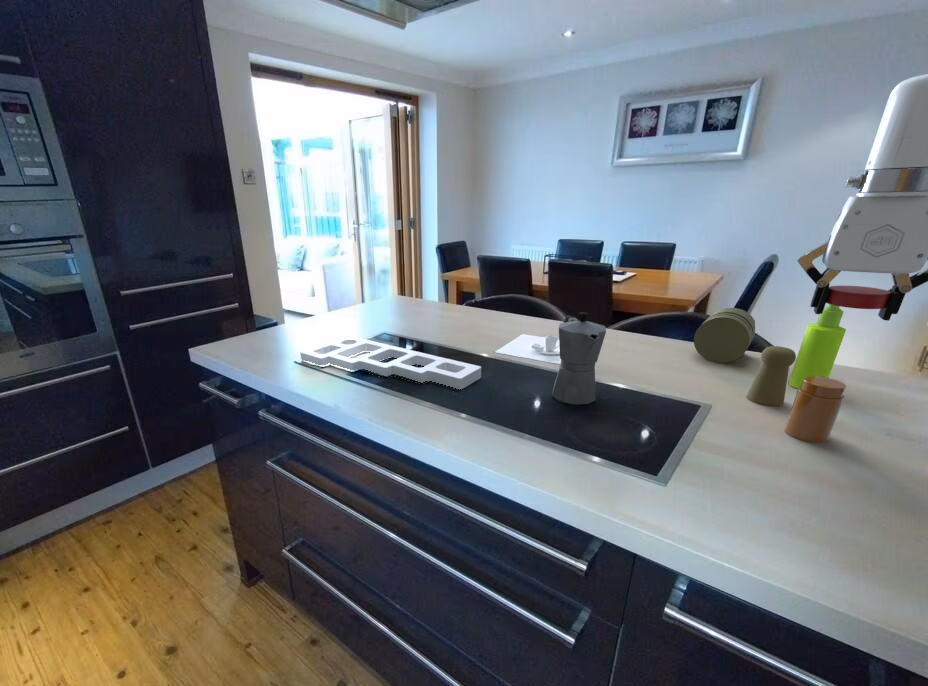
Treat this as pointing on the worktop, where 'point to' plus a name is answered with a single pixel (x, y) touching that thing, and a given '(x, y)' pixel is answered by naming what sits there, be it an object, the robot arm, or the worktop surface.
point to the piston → (725, 335)
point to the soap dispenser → (819, 347)
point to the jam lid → (858, 297)
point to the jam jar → (815, 409)
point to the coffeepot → (578, 360)
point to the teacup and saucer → (534, 348)
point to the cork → (772, 376)
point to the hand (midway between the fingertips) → (849, 314)
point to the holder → (393, 362)
